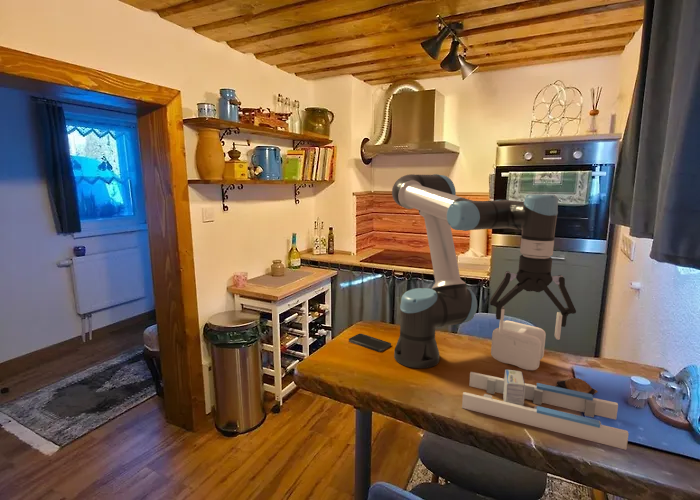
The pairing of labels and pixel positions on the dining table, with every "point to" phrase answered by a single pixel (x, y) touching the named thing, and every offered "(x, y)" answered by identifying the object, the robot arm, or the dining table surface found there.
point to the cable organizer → (518, 345)
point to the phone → (370, 342)
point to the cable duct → (549, 410)
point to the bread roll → (576, 385)
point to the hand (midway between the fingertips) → (528, 334)
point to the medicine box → (514, 387)
